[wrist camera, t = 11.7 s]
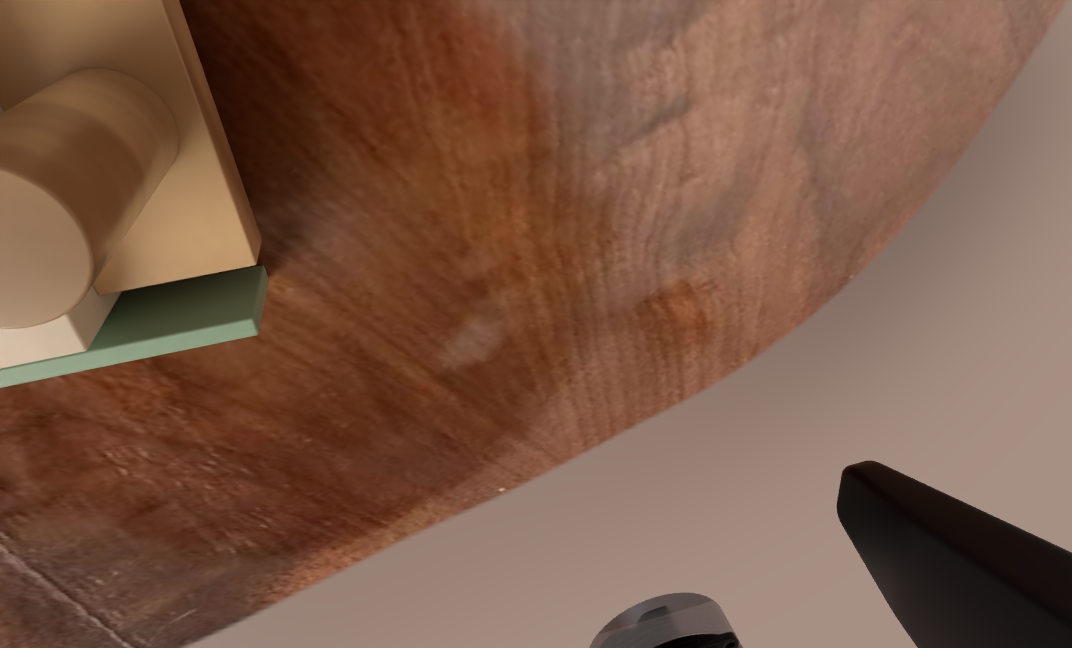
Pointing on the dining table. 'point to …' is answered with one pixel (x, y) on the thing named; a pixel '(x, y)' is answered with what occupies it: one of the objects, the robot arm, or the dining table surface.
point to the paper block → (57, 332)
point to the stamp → (109, 157)
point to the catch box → (163, 323)
